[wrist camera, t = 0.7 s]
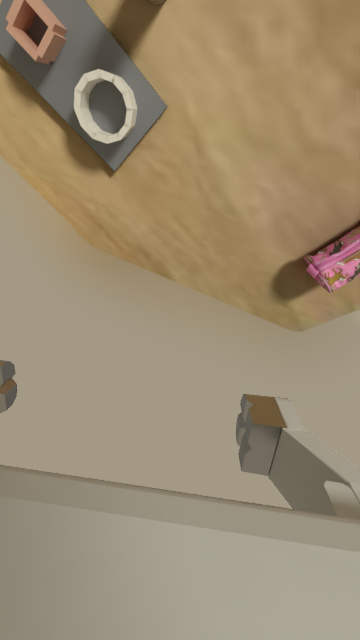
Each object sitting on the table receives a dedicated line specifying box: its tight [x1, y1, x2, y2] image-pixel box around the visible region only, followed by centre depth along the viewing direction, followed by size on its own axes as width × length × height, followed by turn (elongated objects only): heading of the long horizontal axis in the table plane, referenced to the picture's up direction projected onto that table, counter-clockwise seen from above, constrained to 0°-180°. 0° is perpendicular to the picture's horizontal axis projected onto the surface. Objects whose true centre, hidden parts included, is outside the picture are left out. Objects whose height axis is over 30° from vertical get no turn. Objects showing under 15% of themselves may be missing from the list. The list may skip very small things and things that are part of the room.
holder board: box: [0, 0, 167, 171], centre depth 37 cm, size 21×12×6 cm, turn 44°
